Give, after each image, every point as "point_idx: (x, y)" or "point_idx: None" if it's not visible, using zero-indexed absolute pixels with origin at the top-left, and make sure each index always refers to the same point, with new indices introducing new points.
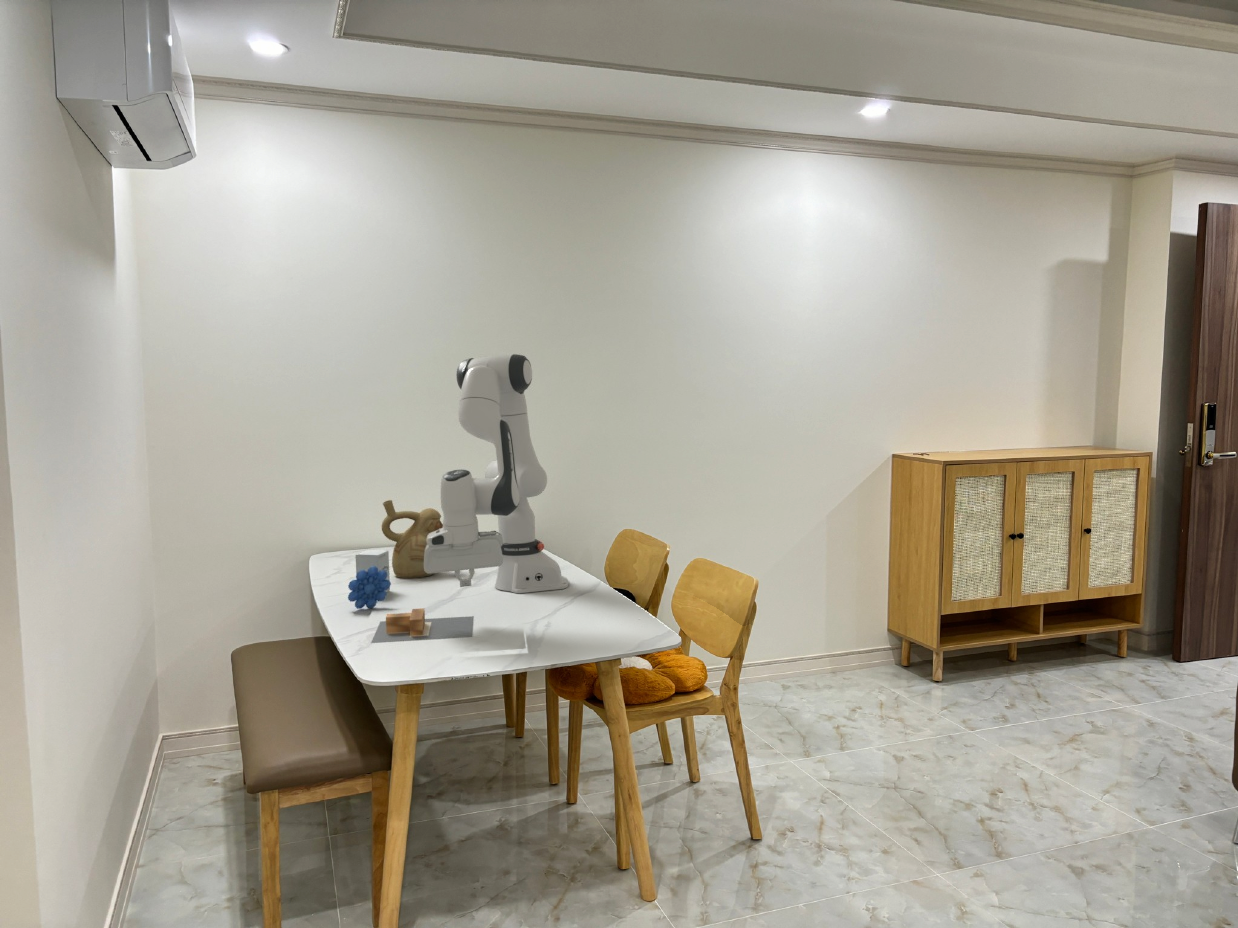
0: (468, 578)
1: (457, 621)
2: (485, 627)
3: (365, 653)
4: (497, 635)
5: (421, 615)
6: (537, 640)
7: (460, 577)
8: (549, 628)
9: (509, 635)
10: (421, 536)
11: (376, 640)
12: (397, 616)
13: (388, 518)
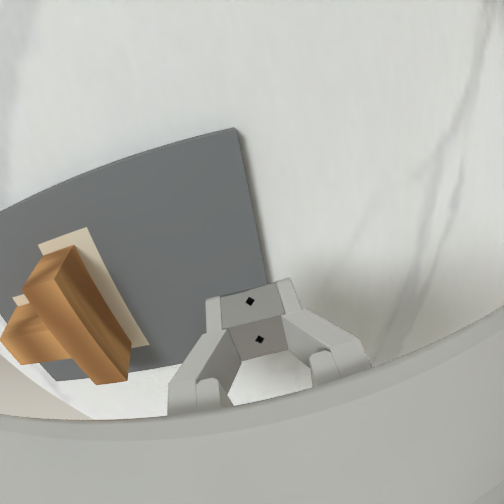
0: (286, 334)
1: (185, 209)
2: (298, 221)
3: (76, 397)
4: (338, 288)
5: (100, 353)
6: (415, 304)
7: (227, 368)
8: (453, 223)
9: (367, 284)
10: None
11: (54, 371)
12: (40, 359)
13: None
